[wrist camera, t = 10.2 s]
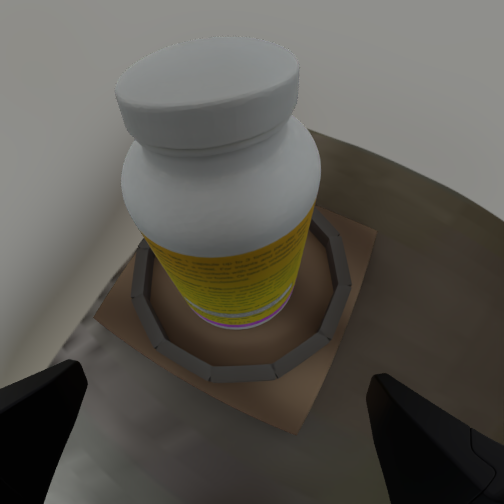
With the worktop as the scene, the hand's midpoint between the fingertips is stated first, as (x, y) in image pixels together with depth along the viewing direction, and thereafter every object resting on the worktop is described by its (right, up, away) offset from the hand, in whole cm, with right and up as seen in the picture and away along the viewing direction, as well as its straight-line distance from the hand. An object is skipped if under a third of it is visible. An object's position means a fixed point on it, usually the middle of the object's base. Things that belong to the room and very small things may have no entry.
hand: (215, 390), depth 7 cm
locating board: (0, +2, +11) cm, 11 cm away
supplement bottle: (0, +2, +10) cm, 10 cm away
